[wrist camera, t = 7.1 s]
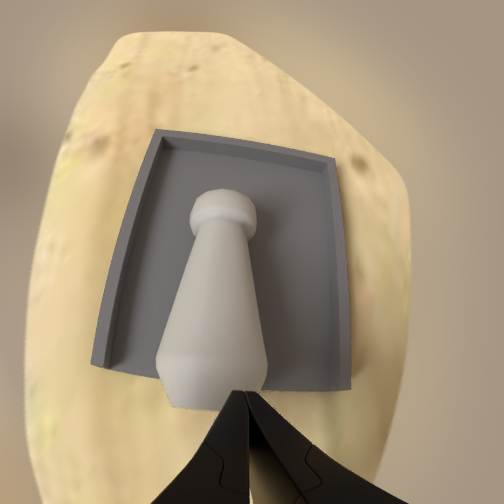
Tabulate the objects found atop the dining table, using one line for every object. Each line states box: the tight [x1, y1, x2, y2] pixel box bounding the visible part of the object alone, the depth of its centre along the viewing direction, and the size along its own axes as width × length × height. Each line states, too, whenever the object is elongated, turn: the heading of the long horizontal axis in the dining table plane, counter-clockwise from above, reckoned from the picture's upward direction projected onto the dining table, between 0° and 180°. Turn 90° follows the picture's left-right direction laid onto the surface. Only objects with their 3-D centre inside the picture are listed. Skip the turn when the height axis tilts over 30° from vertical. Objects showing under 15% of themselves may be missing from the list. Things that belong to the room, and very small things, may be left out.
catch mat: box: [91, 129, 351, 391], centre depth 21 cm, size 19×16×2 cm
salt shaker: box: [156, 189, 268, 412], centre depth 17 cm, size 6×6×13 cm
